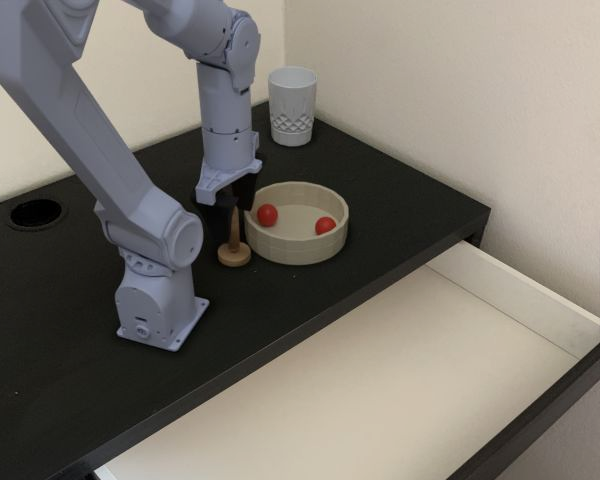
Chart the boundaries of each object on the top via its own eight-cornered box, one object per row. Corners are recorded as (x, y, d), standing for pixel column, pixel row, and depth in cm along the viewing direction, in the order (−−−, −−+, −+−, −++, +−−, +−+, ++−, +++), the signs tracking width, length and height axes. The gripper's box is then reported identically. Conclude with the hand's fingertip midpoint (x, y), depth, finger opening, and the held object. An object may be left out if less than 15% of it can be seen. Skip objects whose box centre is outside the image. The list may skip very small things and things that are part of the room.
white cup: (311, 151, 109) (313, 89, 101) (264, 146, 110) (263, 84, 102) (317, 128, 114) (320, 68, 106) (273, 123, 115) (272, 63, 107)
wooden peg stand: (243, 270, 88) (240, 217, 82) (212, 262, 89) (208, 210, 83) (255, 251, 91) (254, 199, 85) (226, 244, 91) (222, 192, 85)
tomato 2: (332, 245, 91) (333, 226, 89) (311, 240, 91) (312, 222, 89) (338, 233, 93) (340, 214, 90) (318, 228, 93) (319, 210, 91)
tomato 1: (273, 232, 93) (273, 213, 90) (253, 227, 93) (253, 208, 91) (281, 220, 94) (281, 202, 92) (261, 216, 95) (261, 197, 93)
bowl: (328, 274, 88) (330, 249, 85) (229, 251, 90) (228, 226, 87) (358, 217, 96) (360, 193, 93) (267, 198, 99) (266, 173, 96)
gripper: (233, 159, 70) (239, 263, 80) (281, 101, 79) (281, 201, 90) (173, 147, 72) (187, 250, 82) (227, 91, 81) (233, 191, 91)
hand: (232, 224), depth 86 cm, fingers open, 7 cm apart
